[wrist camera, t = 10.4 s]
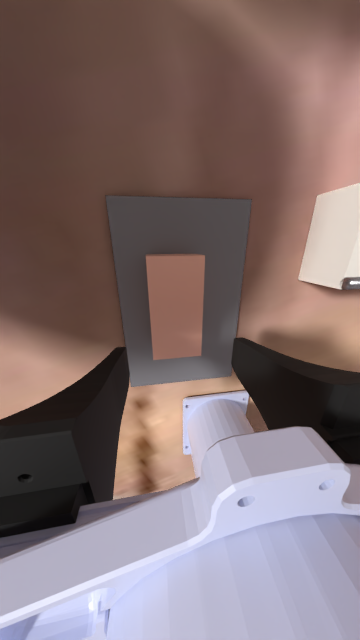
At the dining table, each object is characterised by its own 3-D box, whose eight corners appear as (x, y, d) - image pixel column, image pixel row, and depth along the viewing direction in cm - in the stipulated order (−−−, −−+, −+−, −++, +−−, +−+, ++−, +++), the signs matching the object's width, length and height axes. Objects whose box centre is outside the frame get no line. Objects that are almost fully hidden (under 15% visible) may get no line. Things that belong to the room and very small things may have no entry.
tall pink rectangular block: (193, 339, 18) (201, 355, 16) (152, 342, 18) (153, 360, 15) (195, 253, 15) (205, 255, 13) (146, 254, 15) (145, 256, 12)
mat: (229, 373, 21) (231, 376, 21) (131, 384, 20) (131, 387, 19) (249, 200, 15) (251, 199, 15) (106, 196, 13) (105, 195, 13)
